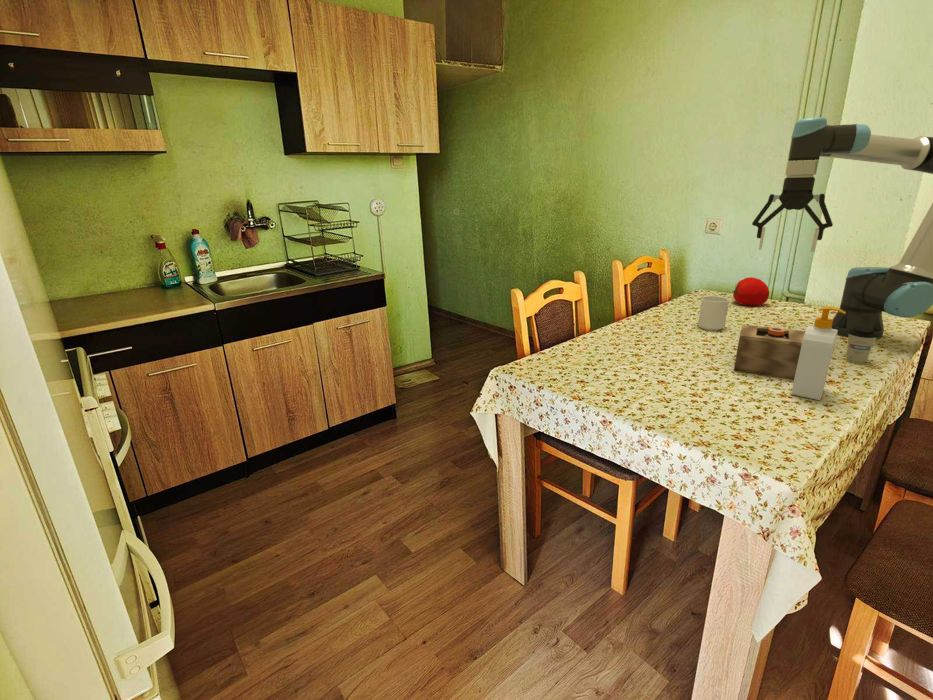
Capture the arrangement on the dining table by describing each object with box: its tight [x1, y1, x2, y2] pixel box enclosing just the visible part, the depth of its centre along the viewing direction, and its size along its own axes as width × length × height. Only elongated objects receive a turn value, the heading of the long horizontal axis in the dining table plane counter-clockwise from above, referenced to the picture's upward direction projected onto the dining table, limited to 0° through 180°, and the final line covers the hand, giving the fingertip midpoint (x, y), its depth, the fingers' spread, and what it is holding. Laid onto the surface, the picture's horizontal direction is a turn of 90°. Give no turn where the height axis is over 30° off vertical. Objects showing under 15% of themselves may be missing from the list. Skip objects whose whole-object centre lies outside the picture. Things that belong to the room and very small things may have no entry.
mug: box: [697, 295, 730, 332], centre depth 179 cm, size 12×9×11 cm
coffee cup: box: [845, 327, 878, 364], centre depth 144 cm, size 7×7×10 cm
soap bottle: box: [791, 306, 846, 401], centre depth 123 cm, size 9×7×23 cm
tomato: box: [732, 276, 770, 307], centre depth 207 cm, size 13×13×13 cm
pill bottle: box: [765, 327, 786, 339], centre depth 140 cm, size 6×6×11 cm
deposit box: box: [733, 324, 806, 380], centre depth 141 cm, size 16×12×11 cm
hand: (785, 250), depth 148 cm, fingers open, 13 cm apart
